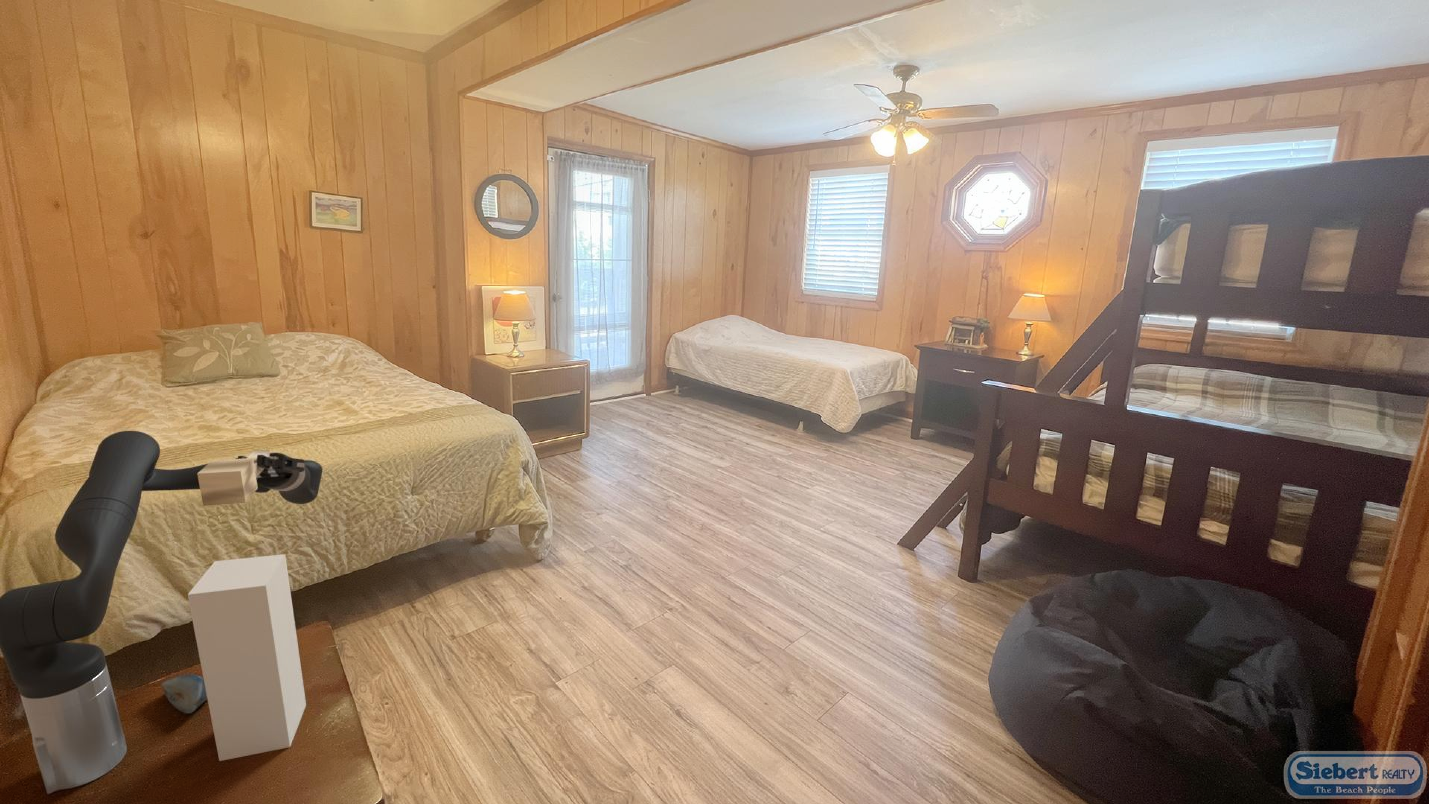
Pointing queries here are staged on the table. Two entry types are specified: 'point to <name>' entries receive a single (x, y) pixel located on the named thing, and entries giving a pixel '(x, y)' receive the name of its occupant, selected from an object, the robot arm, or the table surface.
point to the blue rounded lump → (185, 692)
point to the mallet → (230, 479)
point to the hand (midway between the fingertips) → (249, 460)
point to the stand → (249, 654)
